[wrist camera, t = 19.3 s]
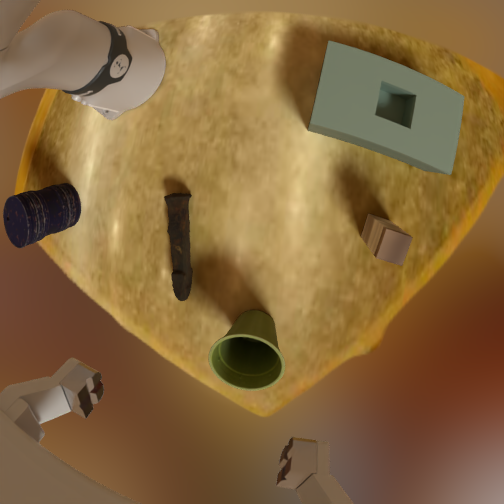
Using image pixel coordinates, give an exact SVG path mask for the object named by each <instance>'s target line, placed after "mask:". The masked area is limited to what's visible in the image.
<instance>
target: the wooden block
mask: <svg viewBox="0 0 504 504" xmlns="http://www.w3.org/2000/svg"><path fill="white" fill-rule="evenodd" d="M361 238H362V239H363V241H364V242H365V243H366V245H367V246H368V247H369V249H370V250H371V252H372V253H373V254H374V256H375V257H376V258H378V259H381V260H384V261H388V262H391V263H394V264H398V265H401V266H402V265H403V262H404V259H405V257H406V254H407V251H408V249H409V246H410V243H411V240H412V238H413V237H411V236H410V235H409V234H407V233H406V232H405V231H403V230H402V229H401V228H399V227H398V226H397V225H395V224H394V223H393V222H391V221H390V220H387V219H384V218H381V217H378V216H375V215H372V214H368V216H367V219H366V222H365V225H364V229H363V232H362V235H361Z"/></svg>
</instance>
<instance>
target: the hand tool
mask: <svg viewBox="0 0 504 504" xmlns="http://www.w3.org/2000/svg"><path fill="white" fill-rule="evenodd" d="M191 196H192V195H191V194H182V193H173V194H170V195H167V196H165V197H164V198H165V201H166V204H167V206H168V217H169V226H168V230H167V232H168V233H169V235H170V243H171V256H172V263H173V273H172V274H171V276H172V282H173V285H172V286H173V288H174V289H173V290H174V293H175V296H176V297H177V298H178V300H180V301H185V300H186V299H187V298H188V296H189V294H190V290H191V284H192V273H193V271H192V268H191V264H190V238H189V232H190V230H189V225H190V221H189V209H188V203H189V199H190V197H191Z"/></svg>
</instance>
